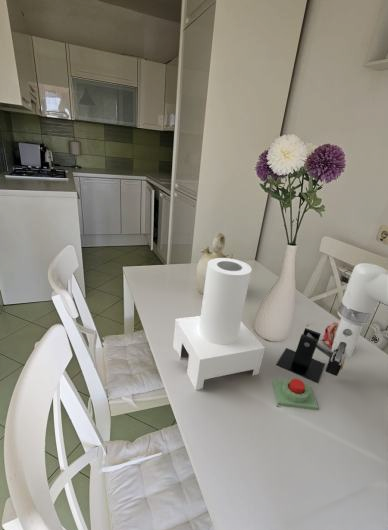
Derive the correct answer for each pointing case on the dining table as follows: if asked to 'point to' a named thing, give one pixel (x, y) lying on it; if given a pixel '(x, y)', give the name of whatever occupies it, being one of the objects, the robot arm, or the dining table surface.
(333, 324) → the flower
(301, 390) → the button
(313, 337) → the lever
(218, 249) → the jug
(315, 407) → the button block
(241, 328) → the paper towel holder
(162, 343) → the dining table surface
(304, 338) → the bracket
